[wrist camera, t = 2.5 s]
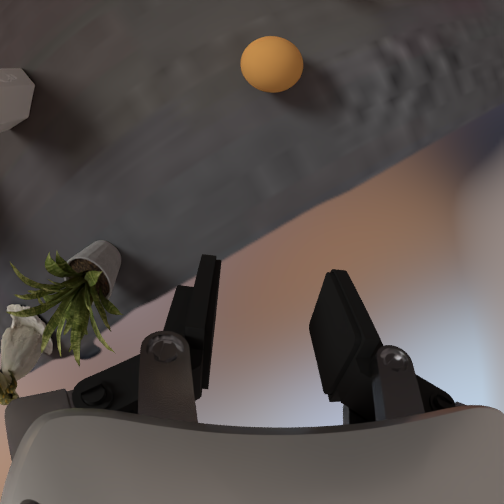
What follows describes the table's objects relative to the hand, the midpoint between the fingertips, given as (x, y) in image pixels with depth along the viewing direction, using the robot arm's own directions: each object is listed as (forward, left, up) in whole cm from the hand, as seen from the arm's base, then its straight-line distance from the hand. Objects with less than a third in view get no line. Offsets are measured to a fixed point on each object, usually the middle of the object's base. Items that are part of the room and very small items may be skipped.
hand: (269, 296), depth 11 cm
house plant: (+13, -20, -24) cm, 34 cm away
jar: (-9, -34, -24) cm, 42 cm away
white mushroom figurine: (+33, -40, -24) cm, 57 cm away
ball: (-12, 0, -20) cm, 23 cm away
